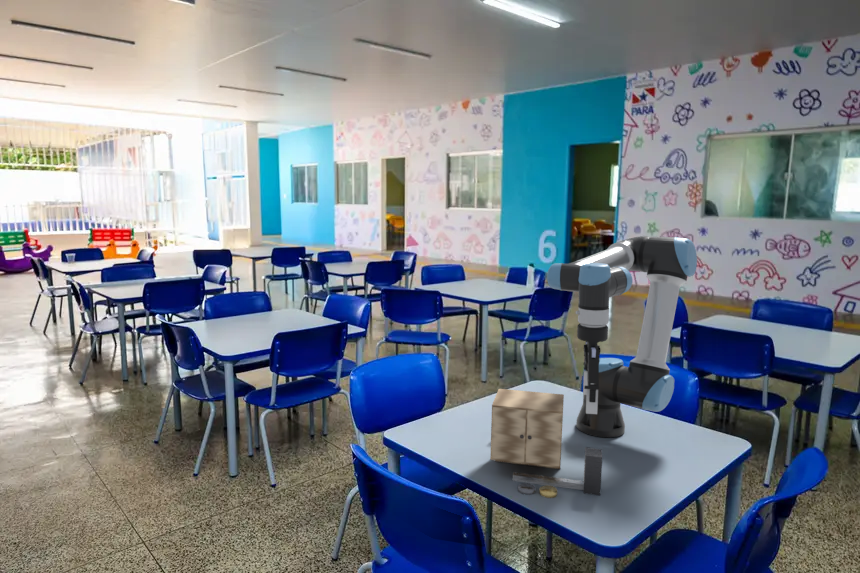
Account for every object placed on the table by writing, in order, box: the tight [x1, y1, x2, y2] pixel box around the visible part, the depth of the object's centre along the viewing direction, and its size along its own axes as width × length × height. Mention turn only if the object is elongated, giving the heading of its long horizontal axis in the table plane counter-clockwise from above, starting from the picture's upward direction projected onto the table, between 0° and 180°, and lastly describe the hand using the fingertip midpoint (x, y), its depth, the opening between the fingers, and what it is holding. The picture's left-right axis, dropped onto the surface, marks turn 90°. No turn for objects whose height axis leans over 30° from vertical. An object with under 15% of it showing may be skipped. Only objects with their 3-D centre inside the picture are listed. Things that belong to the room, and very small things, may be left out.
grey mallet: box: [512, 447, 603, 496], centre depth 144 cm, size 22×5×10 cm, turn 75°
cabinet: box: [490, 388, 565, 470], centre depth 151 cm, size 18×15×20 cm
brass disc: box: [538, 485, 558, 499], centre depth 140 cm, size 4×4×1 cm
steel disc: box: [517, 482, 537, 496], centre depth 142 cm, size 4×4×1 cm
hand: (589, 403), depth 146 cm, fingers open, 13 cm apart
